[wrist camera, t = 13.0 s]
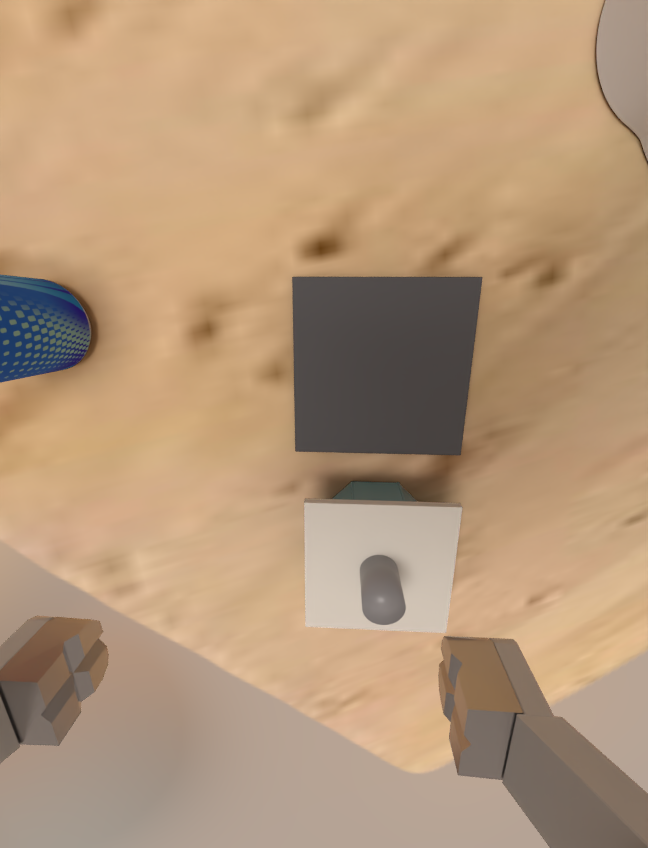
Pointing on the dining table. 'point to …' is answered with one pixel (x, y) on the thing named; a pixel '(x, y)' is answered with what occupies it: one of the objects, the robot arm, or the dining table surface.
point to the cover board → (386, 536)
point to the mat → (383, 363)
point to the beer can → (39, 328)
